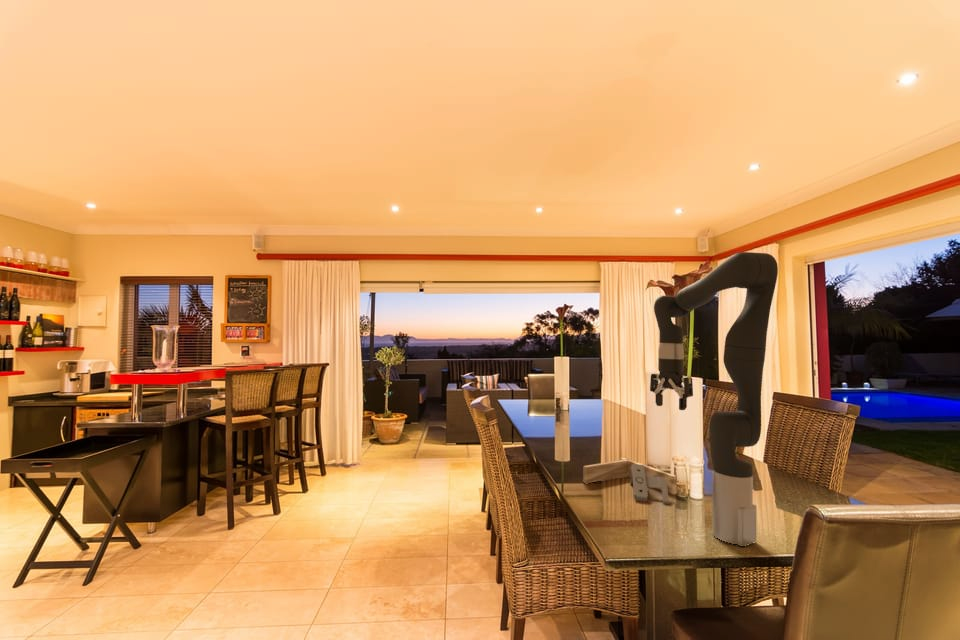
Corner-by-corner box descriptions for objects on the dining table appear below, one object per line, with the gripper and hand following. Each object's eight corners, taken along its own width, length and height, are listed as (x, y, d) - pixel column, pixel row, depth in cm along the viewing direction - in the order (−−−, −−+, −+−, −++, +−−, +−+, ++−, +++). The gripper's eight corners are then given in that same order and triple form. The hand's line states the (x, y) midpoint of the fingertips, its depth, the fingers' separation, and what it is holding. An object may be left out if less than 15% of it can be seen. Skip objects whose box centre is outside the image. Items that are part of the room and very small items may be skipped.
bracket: (661, 487, 153) (664, 466, 149) (667, 522, 141) (669, 500, 136) (630, 483, 156) (631, 463, 152) (632, 518, 144) (634, 496, 139)
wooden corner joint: (676, 493, 147) (676, 475, 147) (629, 504, 137) (630, 485, 137) (623, 473, 168) (623, 457, 168) (579, 481, 157) (579, 464, 158)
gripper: (698, 358, 136) (698, 410, 135) (660, 356, 149) (659, 403, 148) (682, 358, 132) (682, 412, 132) (645, 356, 145) (644, 405, 144)
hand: (670, 407), depth 140 cm, fingers open, 8 cm apart
